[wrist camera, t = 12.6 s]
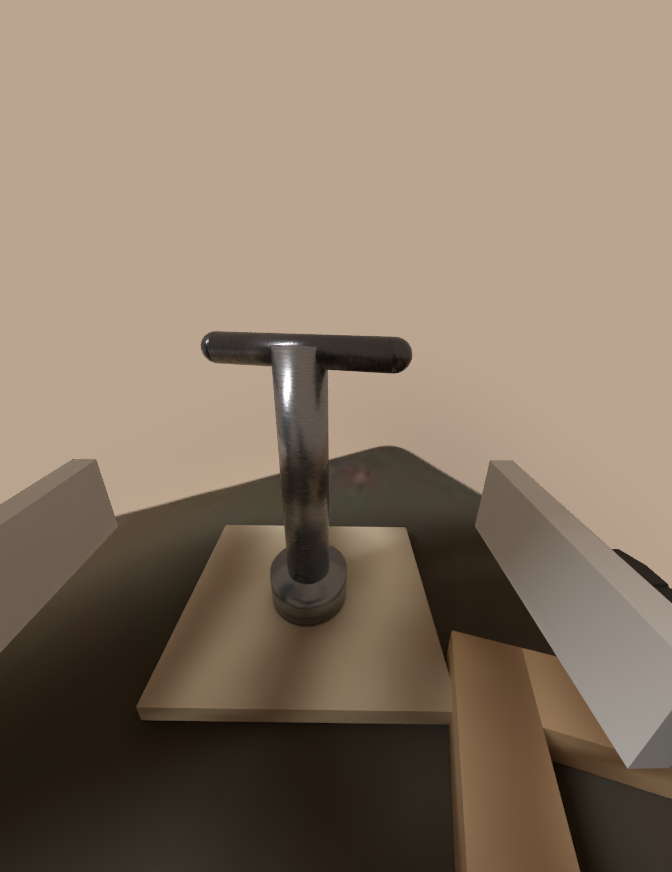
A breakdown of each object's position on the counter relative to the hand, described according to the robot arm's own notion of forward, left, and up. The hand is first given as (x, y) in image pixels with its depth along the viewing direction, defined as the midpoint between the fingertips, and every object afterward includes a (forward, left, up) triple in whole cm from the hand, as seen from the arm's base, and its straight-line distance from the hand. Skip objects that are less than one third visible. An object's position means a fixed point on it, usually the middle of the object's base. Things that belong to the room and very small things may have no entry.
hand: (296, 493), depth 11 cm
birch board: (-1, +4, -11) cm, 12 cm away
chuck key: (-1, +4, -10) cm, 11 cm away
